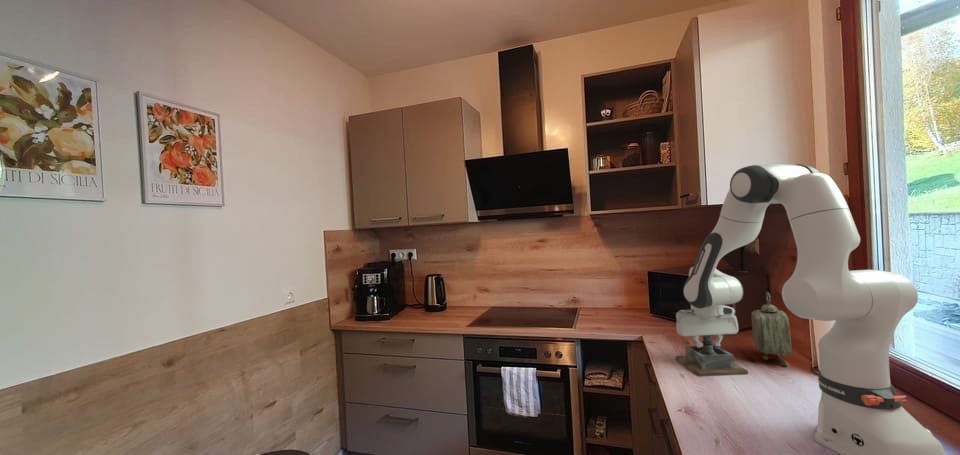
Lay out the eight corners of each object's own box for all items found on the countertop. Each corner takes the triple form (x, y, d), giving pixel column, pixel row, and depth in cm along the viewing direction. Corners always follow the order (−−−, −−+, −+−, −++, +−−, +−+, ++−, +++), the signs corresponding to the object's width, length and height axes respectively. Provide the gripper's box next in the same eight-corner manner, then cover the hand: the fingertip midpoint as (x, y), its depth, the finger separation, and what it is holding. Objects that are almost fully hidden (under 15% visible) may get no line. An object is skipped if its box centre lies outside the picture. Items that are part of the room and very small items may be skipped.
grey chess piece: (713, 359, 129) (711, 327, 129) (722, 366, 123) (720, 332, 123) (696, 359, 130) (694, 327, 130) (704, 366, 124) (702, 332, 124)
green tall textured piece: (793, 369, 119) (787, 296, 120) (760, 365, 124) (754, 295, 125) (784, 355, 132) (778, 289, 132) (754, 352, 137) (748, 288, 137)
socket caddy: (748, 374, 118) (746, 357, 118) (699, 376, 119) (697, 359, 119) (718, 357, 134) (717, 342, 134) (676, 359, 135) (674, 344, 135)
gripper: (680, 312, 124) (683, 351, 124) (739, 309, 123) (743, 348, 123) (671, 308, 131) (674, 345, 130) (728, 305, 129) (731, 342, 129)
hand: (708, 346), depth 127 cm, fingers open, 5 cm apart
